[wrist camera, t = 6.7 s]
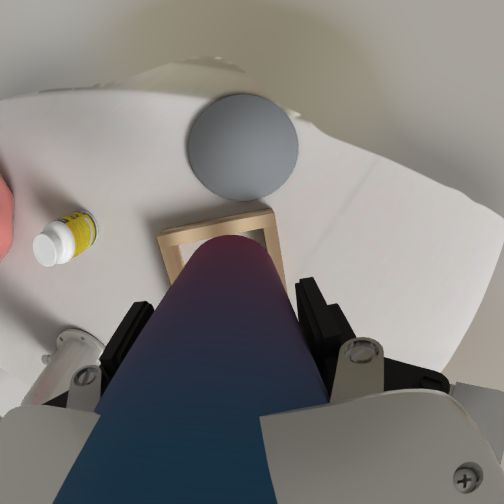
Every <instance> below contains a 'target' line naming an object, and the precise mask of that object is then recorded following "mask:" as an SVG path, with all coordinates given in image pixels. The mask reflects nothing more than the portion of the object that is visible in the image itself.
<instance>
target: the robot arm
mask: <svg viewBox="0 0 504 504" xmlns="http://www.w3.org/2000/svg"><path fill="white" fill-rule="evenodd" d="M295 289H296V299H297V309H298V320H299V324H300V327H301V329H302V332H303V334H304V337H305V339H306V341H307V344H308V346H309V349H310V351H311V354H312V356H313V359H314V361H315V363H316V366H317V368H318V371H319V373H320V376H321V378H322V381H323V383H324V386H325V388H326V391H327V393H328V396H329V398H330V403H327V404H322V405H317V406H311V407H306V408H299V409H294V410H289V411H284V412H279V413H274V414H269V415H265V416H260V417H259V418H260V423H261V429H262V435H263V440H264V446H265V451H266V457H267V462H268V467H269V471H270V475H271V479H272V483H273V487H274V491H275V495H276V499H277V503H278V504H504V473H503V470H502V468H501V466H500V464H501V459H502V456H503V451H504V392H502V391H499V390H495V389H489V388H484V387H479V386H474V385H469V384H465V383H460V382H456V384H455V385H452V384H449V381H448V379H447V378H446V377H445V376H444V375H443V374H441V373H439V372H436V371H433V370H429V369H425V368H421V367H418V366H414V365H410V364H407V363H403V362H399V361H396V360H392V359H389V358H385V357H384V351H383V347H382V346H381V344H380V343H379V342H377V341H376V340H374V339H371V338H366V337H359V338H357V337H356V335H355V334H354V332H353V330H352V328H351V326H350V324H349V323H348V321H347V319H346V317H345V315H344V314H343V312H342V310H341V308H340V307H339V305H338V304H337V303H336V304H331V305H327V303H326V301H325V299H324V297H323V296H322V294H321V292H320V290H319V288H318V286H317V284H316V282H315V280H314V278H313V277H309V278H303V279H300V283H295ZM153 313H154V308H153V306H152V304H149V303H148V302H147V301H142V302H134V303H133V305H132V306H131V308H130V309H129V311H128V312H127V314H126V316H125V317H124V319H123V320H122V322H121V323H120V325H119V326H118V328H117V330H116V331H115V333H114V334H113V336H112V338H111V339H110V341H109V343H108V344H107V346H106V347H104V346H103V345H102V344H101V343H100V342H99V341H98V340H97V339H95V338H94V337H93V336H91V335H89V334H88V333H86V332H83V331H81V330H77V329H66V330H64V331H62V332H61V334H60V335H59V336H58V338H57V341H56V347H57V351H56V353H55V354H52V355H43V356H42V362H43V363H44V364H48V365H47V366H46V367H45V369H44V370H43V371H42V373H41V374H40V376H39V377H38V379H37V380H36V381H35V383H34V384H33V386H32V387H31V389H30V390H29V392H28V393H27V395H26V396H25V397H24V399H23V401H22V403H21V406H19V407H16V408H14V409H11V410H10V411H9V412H8V413H7V414H6V415H5V416H4V417H3V418H2V417H1V416H0V504H52V503H53V501H54V499H55V497H56V496H57V494H58V492H59V490H60V488H61V486H62V484H63V482H64V480H65V479H66V477H67V475H68V473H69V471H70V469H71V467H72V466H73V464H74V462H75V460H76V458H77V457H78V455H79V453H80V451H81V450H82V448H83V446H84V444H85V442H86V440H87V439H88V437H89V435H90V433H91V431H92V430H93V428H94V426H95V424H96V423H97V421H98V419H99V417H100V416H101V415H98V414H96V413H94V412H93V411H94V409H95V408H96V406H97V404H98V402H99V401H100V399H101V397H102V395H103V394H104V392H105V390H106V389H107V387H108V385H109V383H110V382H111V380H112V378H113V377H114V375H115V373H116V372H117V370H118V368H119V367H120V365H121V363H122V362H123V360H124V358H125V357H126V355H127V354H128V352H129V350H130V349H131V347H132V346H133V344H134V342H135V341H136V339H137V338H138V336H139V334H140V333H141V331H142V330H143V328H144V327H145V325H146V323H147V322H148V320H149V319H150V317H151V316H152V314H153Z"/></svg>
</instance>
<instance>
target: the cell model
mask: <svg viewBox="0 0 504 504" xmlns="http://www.w3.org/2000/svg"><path fill="white" fill-rule="evenodd" d="M13 218H14V197H13V195H12V193H11V191H10V189H9V188H8V186H7V184H6V183H5V181H4V179H3V177H2V175H1V174H0V263H1V261H2V259H3V258H4V257H5V255H6V254H7V253H8V252H9V250H10V249H11V246H12V243H13Z"/></svg>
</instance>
